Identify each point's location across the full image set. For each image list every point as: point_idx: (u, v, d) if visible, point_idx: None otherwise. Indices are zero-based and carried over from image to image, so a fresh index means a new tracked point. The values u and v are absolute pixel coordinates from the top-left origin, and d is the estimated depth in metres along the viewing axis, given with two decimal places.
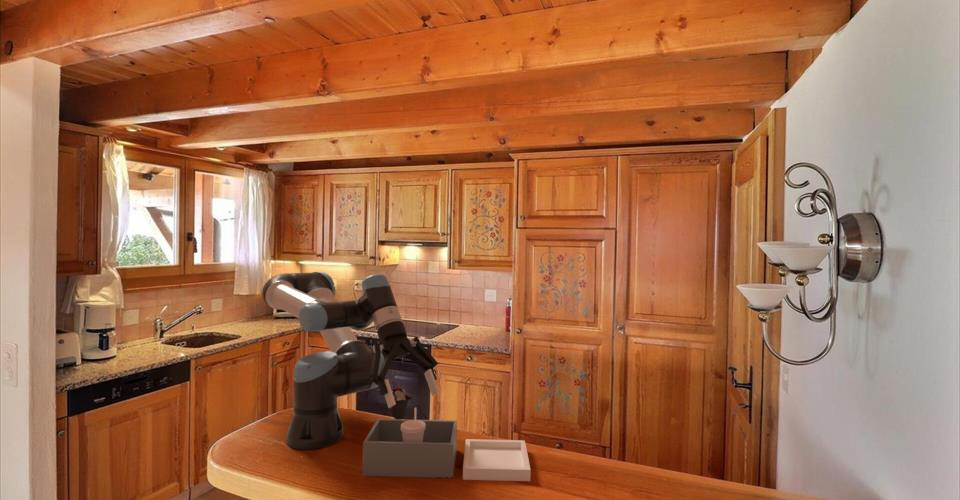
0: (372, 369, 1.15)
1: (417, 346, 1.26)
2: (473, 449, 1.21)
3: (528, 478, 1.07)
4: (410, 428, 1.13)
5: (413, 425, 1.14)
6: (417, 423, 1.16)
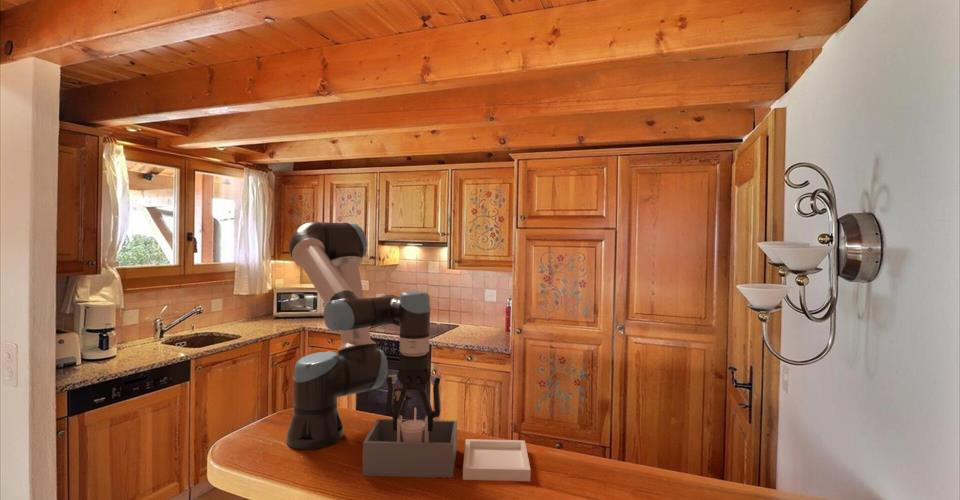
0: None
1: None
2: (473, 449, 1.21)
3: (528, 478, 1.07)
4: (410, 428, 1.13)
5: (413, 425, 1.14)
6: (417, 423, 1.16)
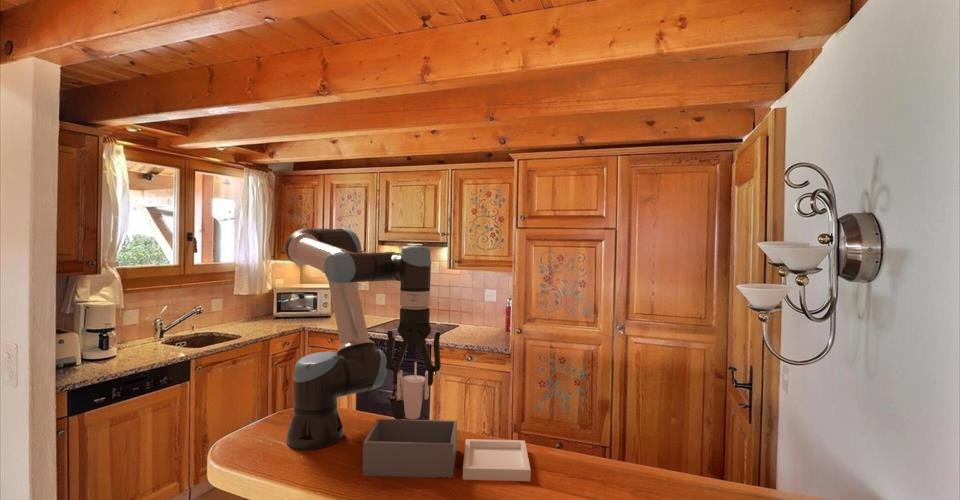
0: None
1: None
2: (473, 449, 1.21)
3: (528, 478, 1.07)
4: (410, 381, 1.13)
5: (413, 379, 1.14)
6: (417, 377, 1.16)
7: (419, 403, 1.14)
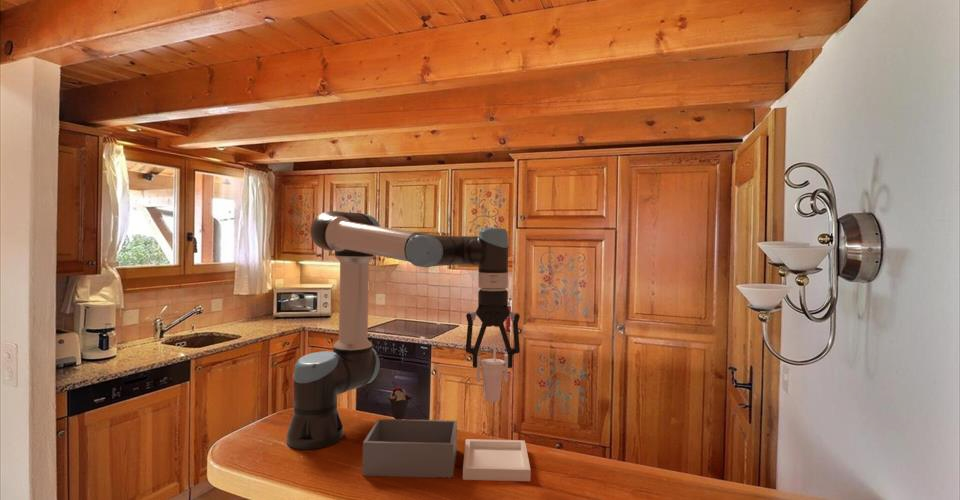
0: None
1: (513, 323, 1.14)
2: (473, 449, 1.21)
3: (528, 478, 1.07)
4: (491, 364, 1.12)
5: (493, 361, 1.14)
6: (496, 360, 1.15)
7: (499, 386, 1.13)
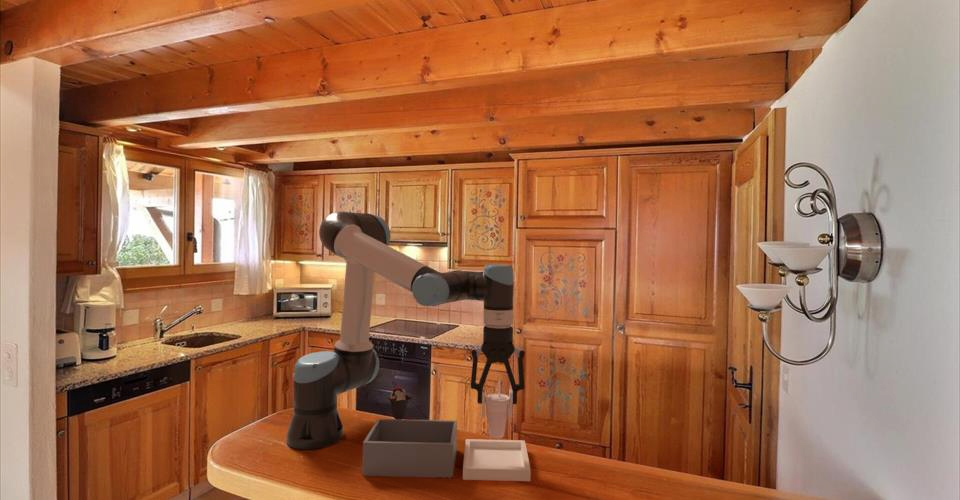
0: None
1: (518, 359, 1.14)
2: (473, 449, 1.21)
3: (528, 478, 1.07)
4: (496, 400, 1.12)
5: (498, 398, 1.14)
6: (501, 396, 1.15)
7: (504, 422, 1.14)
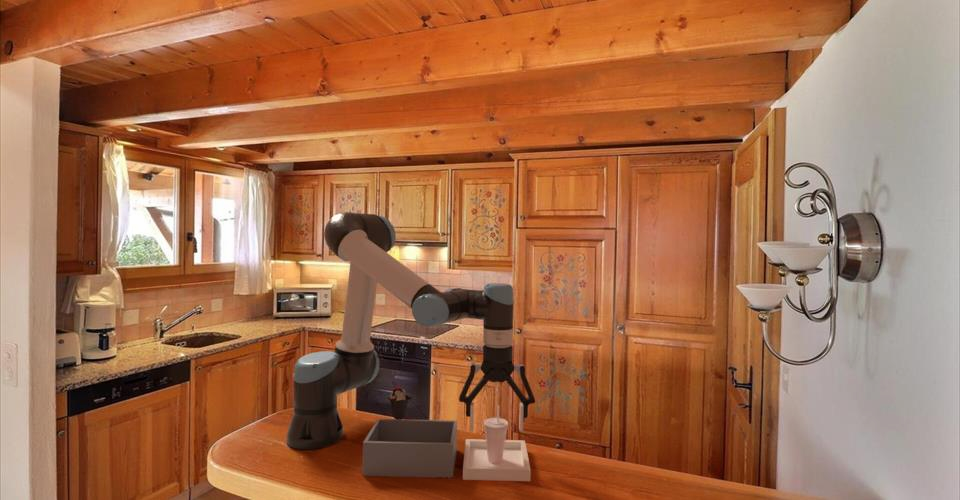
0: (462, 389, 1.15)
1: None
2: (473, 449, 1.21)
3: (528, 478, 1.07)
4: (494, 426, 1.12)
5: (496, 423, 1.14)
6: (500, 421, 1.15)
7: (502, 447, 1.14)
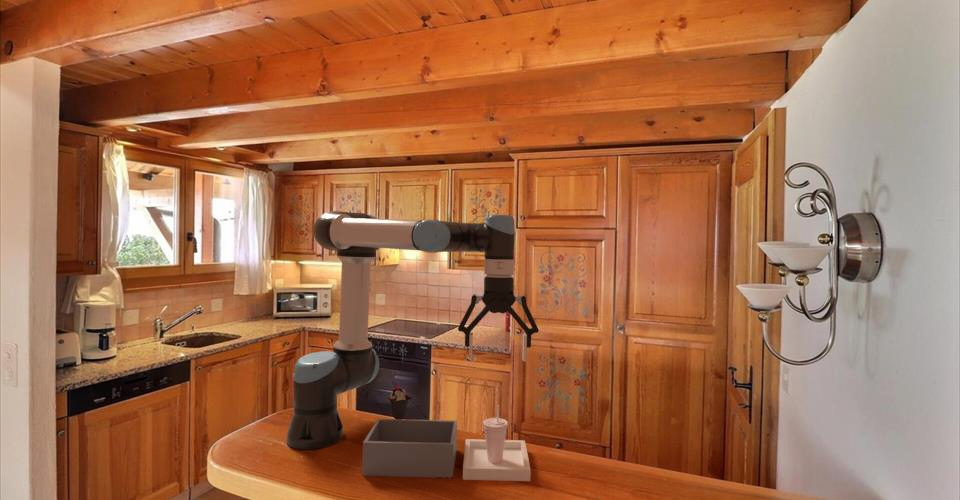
0: (462, 319, 1.15)
1: (522, 306, 1.14)
2: (473, 449, 1.21)
3: (528, 478, 1.07)
4: (494, 426, 1.13)
5: (496, 423, 1.14)
6: (499, 421, 1.15)
7: (502, 447, 1.14)
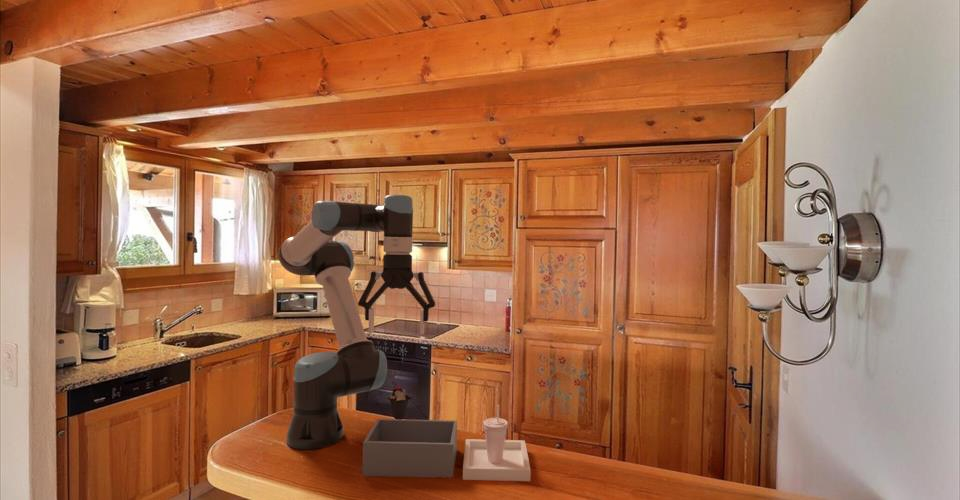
0: None
1: (419, 282, 1.20)
2: (473, 449, 1.21)
3: (528, 478, 1.07)
4: (494, 426, 1.13)
5: (496, 423, 1.14)
6: (499, 421, 1.15)
7: (502, 447, 1.14)
